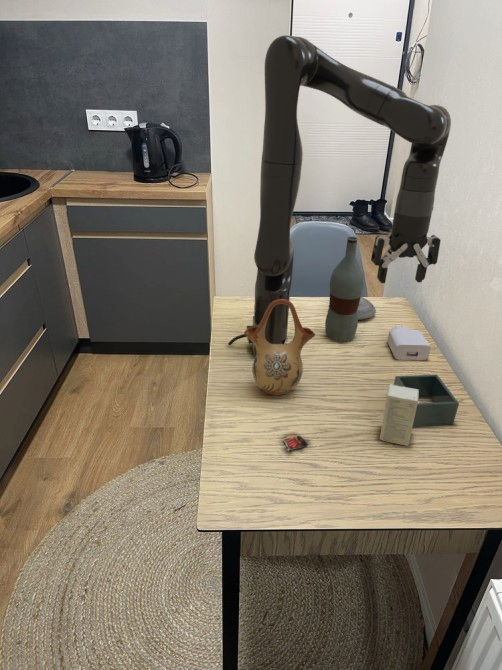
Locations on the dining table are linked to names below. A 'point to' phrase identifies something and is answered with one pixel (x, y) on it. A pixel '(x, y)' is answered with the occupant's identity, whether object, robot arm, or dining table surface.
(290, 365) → the ceramic vessel
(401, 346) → the charger
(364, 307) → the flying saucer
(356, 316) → the bottle
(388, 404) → the cosmetic box
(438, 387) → the teal cube shelf
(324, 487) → the dining table surface
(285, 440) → the matchbox
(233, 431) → the dining table surface
